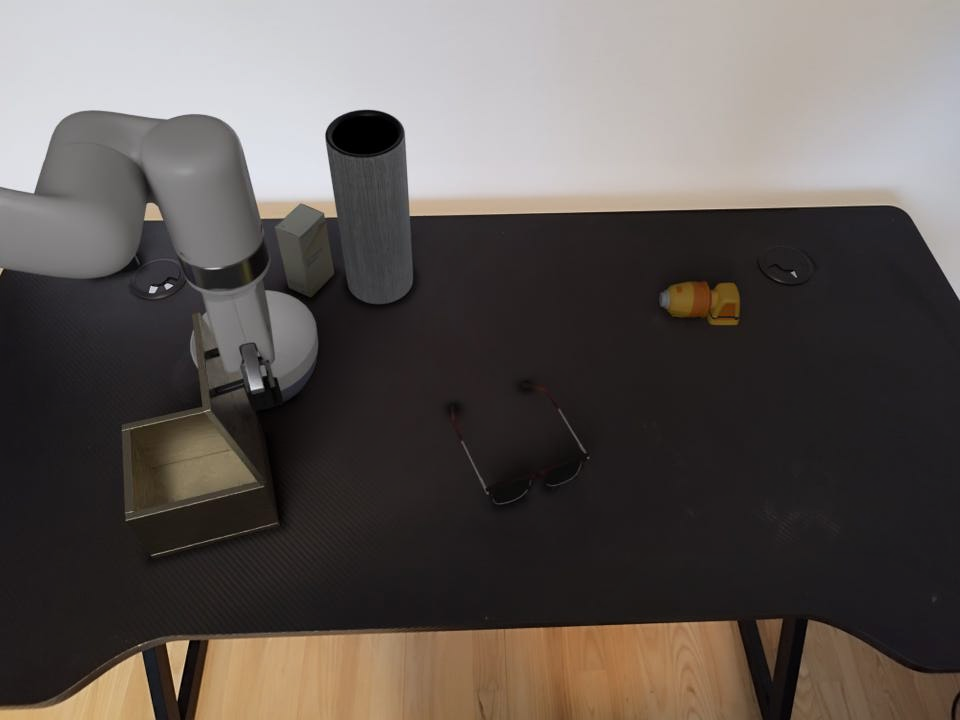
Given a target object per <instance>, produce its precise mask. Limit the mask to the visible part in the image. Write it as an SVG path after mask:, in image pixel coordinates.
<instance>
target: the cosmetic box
mask: <svg viewBox="0 0 960 720" xmlns="http://www.w3.org/2000/svg"><path fill="white" fill-rule="evenodd" d="M274 230H275V235H276V238H277V243H278V248H279V252H280V256H281V261H282V264H283V269H284V272H285V277H286V283H287V285H288V288H289V289H291V290H293V291H295V292H297V293H299V294H302V295H304V296H306V297H309V298H312V297H313V296H314V295H315V294H316V293H317V292H318V291H320V289H321V288H322V287H323V286H324V285H325V284H326V283H327V282H328V281H329V280H330V279H331V278H332V277H333V276H334V275H335V270H334V264H333V258H332V251H331V246H330V241H329V240H330V239H329V233H328V228H327V222H326V217H325V212H323V211H321V210H318V209H316V208H313V207H311V206H309V205H306V204H304V203H301V202H300V203H299V204H298V205H297V206H296V207H295V208H293V210H291V211H290V212H289V213H288V214H286V215H285V217H284V218H283V219H282V220H281V221H279V223H277V224H276V225H275V226H274Z"/></svg>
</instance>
